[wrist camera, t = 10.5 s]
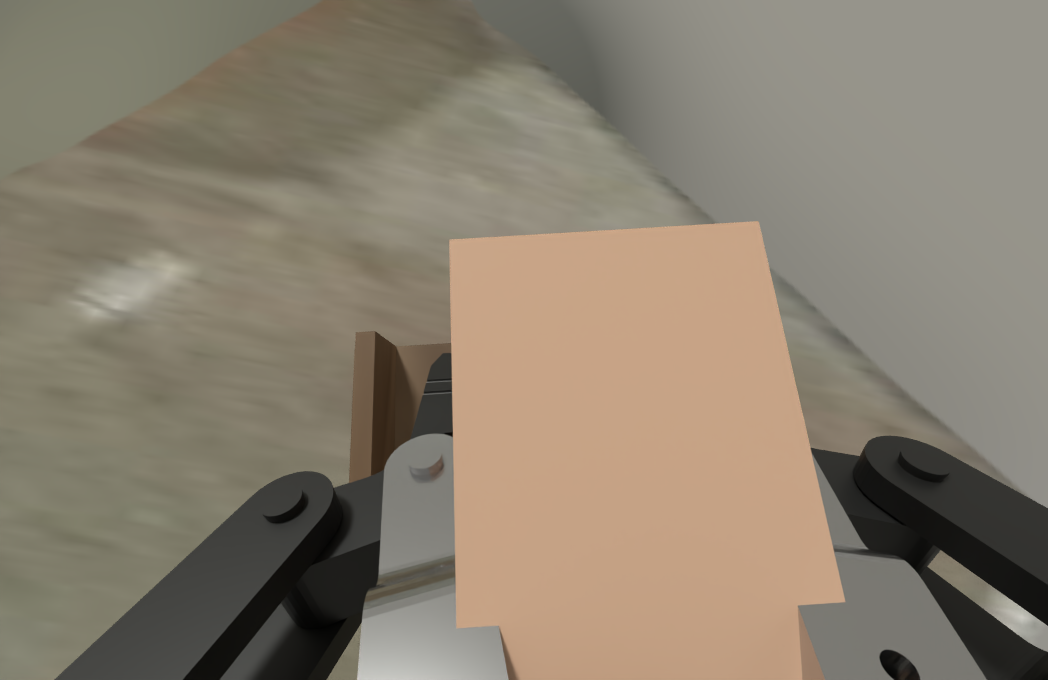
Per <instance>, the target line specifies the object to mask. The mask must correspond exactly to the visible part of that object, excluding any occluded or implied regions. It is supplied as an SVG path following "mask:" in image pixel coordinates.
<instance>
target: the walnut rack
mask: <svg viewBox="0 0 1048 680" xmlns="http://www.w3.org/2000/svg"><path fill="white" fill-rule="evenodd" d="M443 353H451V343H447V344H431V345H414V346H398V347H396V346H395V345H393V344H392V343H390V342H389V341H388V340H386V339H385V338H384V337H382V336H381V335H380V334H378V333H377V332H375V331H372V332H356V341H355V353H354V377H353V401H352V425H351V449H350V473H349V483H351V482H354V481H357V480H360V479H363V478H367V477H369V476H372V475H375V474H377V473H379V472H381V471H383V470H384V469H385V465H386V462H387V460H388V459H389V457H390V456H391V454H392V453H393V452H394V451H395V450H396V449H397V448H398V447H399V446H401V445H402V444H404V443H405V442H407V441H409V440H410V438H411V434H412V431H413V427H414V424H415V420H416V417H417V413H418V410H419V406H420V402H421V399H422V395H424V388H425V385H426V383H427V378H428V374H429V371H430V367H431V365H432V364H433V363H434V362H435V361H436V360H437V359H438V358H439V357H440V356H441V355H442V354H443Z"/></svg>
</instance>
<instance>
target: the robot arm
mask: <svg viewBox="0 0 1048 680" xmlns="http://www.w3.org/2000/svg"><path fill="white" fill-rule="evenodd" d="M810 449H811V453H812V457H813V462H814V466H815V471H816V475H817V479H818V484H819V488H820V492H821V497H822V501H823V506H824V510H825V514H826V519H827V523H828V528H829V532H830V536H831V541H832V545H833V549H834V554H835V558H836V563H837V567H838V571H839V576H840V580H841V584H842V589H843V593H844V598H845V602H840V603H826V604H811V605H798V620H799V635H800V650H801V665H802V680H1048V652H1046V651H1043V650H1041V649H1039V648H1037V647H1035V646H1033V645H1032V644H1030V643H1028V642H1027V641H1025V640H1024V639H1023V638H1021V637H1020V636H1019V635H1017V634H1016V633H1015V632H1013V631H1012V630H1011V629H1009V628H1008V627H1007V626H1005V625H1004V624H1003V623H1001V622H1000V621H999V620H997V619H996V618H995V617H993V616H992V615H991V614H989V613H988V612H987V611H985V610H984V609H983V608H981V607H980V606H979V605H977V604H976V603H975V602H973V601H972V600H971V599H969V598H968V597H967V596H965V595H964V594H963V593H961V592H960V591H959V590H957V589H956V588H955V587H953V586H952V585H951V584H949V583H948V582H947V581H945V580H944V579H943V578H941V577H940V576H939V575H937V574H936V573H935V572H933V571H932V570H931V569H929V568H928V567H927V566H928V565H929V564H930V563H931V561H932V560H933V559H934V558H935V556H936V555H937V554H938V553H939V551H940V550H942V551H943V552H945V553H946V554H947V555H949V556H950V557H952V558H953V559H954V560H956V561H957V562H959V563H960V564H961V565H963V566H964V567H966V568H967V569H969V570H970V571H971V572H973V573H974V574H976V575H977V576H978V577H980V578H981V579H983V580H984V581H985V582H987V583H988V584H990V585H991V586H992V587H994V588H995V589H997V590H998V591H1000V592H1001V593H1002V594H1004V595H1005V596H1007V597H1008V598H1009V599H1011V600H1012V601H1014V602H1015V603H1016V604H1018V605H1019V606H1021V607H1022V608H1024V609H1025V610H1026V611H1028V612H1029V613H1031V614H1032V615H1033V616H1035V617H1036V618H1038V619H1039V620H1040V621H1042V622H1043V623H1045V624H1046V625H1047V626H1048V508H1046V507H1044V506H1043V505H1041V504H1039V503H1037V502H1035V501H1033V500H1032V499H1030V498H1028V497H1026V496H1024V495H1022V494H1021V493H1019V492H1017V491H1015V490H1013V489H1011V488H1010V487H1008V486H1006V485H1004V484H1002V483H1001V482H999V481H997V480H995V479H993V478H991V477H990V476H988V475H986V474H984V473H982V472H980V471H979V470H977V469H975V468H973V467H971V466H969V465H968V464H966V463H964V462H962V461H960V460H958V459H957V458H955V457H953V456H951V455H949V454H948V453H946V452H944V451H942V450H940V449H938V448H935V447H933V446H931V445H928V444H926V443H923V442H920V441H917V440H913V439H909V438H904V437H898V436H880V437H876V438H873V439H871V440H870V441H868V443H867V444H866V446H865V447H864V449H863V451H862V453H861V455H860V456H855V455H849V454H843V453H837V452H831V451H825V450H819V449H814V448H810ZM361 623H362V626H361V639H360V651H359V664H358V676H357V680H509V679H508V674H507V669H506V663H505V658H504V652H503V647H502V641H501V636H500V630H499V626H484V627H469V628H456V575H455V520H454V464H453V409H452V353H443V354H442V355H441V356H440V357H439V358H438V359H437V360H436V361H435V362H434V363H433V364H432V365H431V367H430V371H429V374H428V378H427V383H426V385H425V388H424V395H422V399H421V402H420V406H419V410H418V413H417V417H416V420H415V424H414V427H413V431H412V434H411V438H410V440H409V441H407V442H405V443H404V444H402V445H401V446H399V447H398V448H397V449H396V450H395V451H394V452H393V453H392V454H391V456H390V457H389V459H388V460H387V462H386V465H385V469H384V470H383V471H381V472H379V473H377V474H375V475H372V476H369V477H367V478H363V479H360V480H357V481H354V482H351V483H348V484H345V485H342V486H339V487H335V488H333V485H332V483H331V481H330V480H329V479H328V478H327V477H326V476H325V475H323V474H320V473H317V472H309V471H305V472H297V473H293V474H289V475H286V476H283V477H281V478H279V479H276V480H274V481H273V482H271V483H269V484H267V485H266V486H264V487H263V488H261V489H260V490H259V491H257V492H256V493H255V494H254V495H253V496H252V497H251V498H249V499H248V500H247V501H246V502H245V503H244V504H243V505H242V506H241V507H240V508H239V509H238V510H237V511H235V512H234V513H233V514H232V515H231V516H230V517H229V518H228V519H227V520H226V521H225V522H224V523H223V524H221V525H220V526H219V527H218V528H217V529H216V530H215V531H214V532H213V533H212V534H211V535H210V536H209V537H207V538H206V539H205V540H204V541H203V542H202V543H201V544H200V545H199V546H198V547H197V548H196V549H195V550H193V551H192V552H191V553H190V554H189V555H188V556H187V557H186V558H185V559H184V560H183V561H182V562H181V563H179V564H178V565H177V566H176V567H175V568H174V569H173V570H172V571H171V572H170V573H169V574H168V575H167V576H166V577H164V578H163V579H162V580H161V581H160V582H159V583H158V584H157V585H156V586H155V587H154V588H153V589H152V590H150V591H149V592H148V593H147V594H146V595H145V596H144V597H143V598H142V599H141V600H140V601H139V602H138V603H136V604H135V605H134V606H133V607H132V608H131V609H130V610H129V611H128V612H127V613H126V614H125V615H124V616H122V617H121V618H120V619H119V620H118V621H117V622H116V623H115V624H114V625H113V626H112V627H111V628H110V629H108V630H107V631H106V632H105V633H104V634H103V635H102V636H101V637H100V638H99V639H98V640H97V641H96V642H94V643H93V644H92V645H91V646H90V647H89V648H88V649H87V650H86V651H85V652H84V653H83V654H82V655H80V656H79V657H78V658H77V659H76V660H75V661H74V662H73V663H72V664H71V665H70V666H69V667H68V668H66V669H65V670H64V671H63V672H62V673H61V674H60V675H59V676H58V677H57V678H56V679H55V680H326V679H327V678H328V676H329V675H330V673H331V671H332V670H333V668H334V666H335V665H336V663H337V662H338V660H339V658H340V657H341V655H342V653H343V652H344V650H345V649H346V647H347V645H348V644H349V642H350V640H351V639H352V637H353V636H354V634H355V632H356V631H357V629H358V627H359V626H360V624H361Z"/></svg>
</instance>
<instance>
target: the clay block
mask: <svg viewBox="0 0 1048 680" xmlns="http://www.w3.org/2000/svg"><path fill="white" fill-rule="evenodd" d="M449 242H450V298H451V353H452V409H453V464H454V520H455V575H456V628H469V627H484V626H499V630H500V636H501V641H502V647H503V652H504V658H505V663H506V669H507V674H508V679H509V680H802V665H801V650H800V635H799V620H798V605H811V604H826V603H840V602H845V598H844V593H843V589H842V584H841V580H840V576H839V571H838V567H837V563H836V558H835V554H834V549H833V545H832V541H831V536H830V532H829V528H828V523H827V519H826V514H825V510H824V506H823V501H822V497H821V492H820V488H819V484H818V479H817V475H816V471H815V466H814V462H813V457H812V453H811V449H810V444H809V440H808V436H807V431H806V427H805V422H804V418H803V414H802V409H801V405H800V401H799V396H798V392H797V387H796V383H795V379H794V374H793V370H792V366H791V361H790V357H789V352H788V348H787V344H786V339H785V335H784V330H783V326H782V322H781V317H780V313H779V309H778V304H777V300H776V295H775V291H774V287H773V282H772V278H771V274H770V269H769V265H768V260H767V256H766V252H765V247H764V243H763V239H762V234H761V230H760V225H759V222H758V221H755V222H738V223H721V224H704V225H688V226H671V227H654V228H637V229H621V230H604V231H587V232H570V233H554V234H537V235H520V236H503V237H486V238H470V239H453V240H449Z"/></svg>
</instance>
